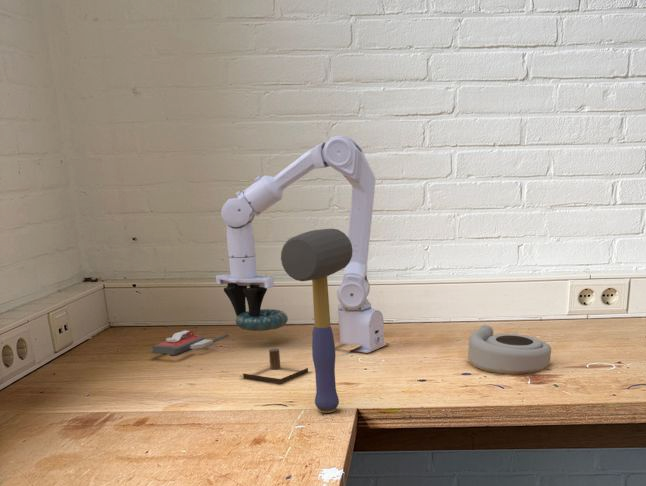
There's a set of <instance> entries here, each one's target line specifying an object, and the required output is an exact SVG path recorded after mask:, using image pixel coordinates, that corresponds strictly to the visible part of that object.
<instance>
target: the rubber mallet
mask: <svg viewBox="0 0 646 486" xmlns="http://www.w3.org/2000/svg"><path fill="white" fill-rule="evenodd" d="M352 251H353V250H352V244H351V242H350V240H349V238H348V235H347V234H346V233H344V232H343V231H342V230H340V229H337V228H321V229H314V230H308V231H306V232H302V233H300V234H297V235H294V236H293V237H290V238H289V239H288V240H286V242H285V243H284V244H283V246H282V249H281V252H280V261H281V266H282V267H283V270H284V271H285V273H286V274H287V275H288V276H289V278H292V279H293V280H295V281H299V282H307V281H309V282H310V281H311V283H312V301H313V302H312V303H313V321H314V322H313V323H314V326H313V328H312V334H311V335H312V339H311V352H312V353H311V354H312V361H313V366H314V372H315V373H314V374H315V388H316V389H315V390H316V391H315V398H314V405H315V407H316V408H317V409H318V411H319V412H320V413H323V414H330V413H334V412H336V411H337V408H338V406H339V403H340V401H339V396H338V395H339V394H338V392H337V386H336V385H337V384H336V372H335V371H336V369H335V368H336V346H335V345H336V344H335V338H334V332H333V329H332V325H331V314H330V313H331V312H330V299H329V298H330V297H329V285H328V277H329V276H331V275H334V274H336V273H337V272H339V271H341V270H343V269H345V267H346V266H347V265H348V264H349V263H350V260H351V258H352Z"/></svg>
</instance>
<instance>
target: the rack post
mask: <svg viewBox="0 0 646 486" xmlns="http://www.w3.org/2000/svg"><path fill="white" fill-rule="evenodd" d="M280 354H281V353H280V349H279V348H271V349H268V355H269V356H268V357H269V368H270V369H269V370H271V371H278V370H281V367H282V366H281V365H282V364H281V355H280ZM308 373H309V367H306V368H304V369H301V370H299V371H297V372H294V373H292V374H289V375H287V376H284V377H282V378H276V377H269V376H264V375H263V376H262V375H256V374H249V373H242V377H243V378H242V379H243V380H248V381H249V380H250V381H256V382H262V383H270V384H276V385H282V384H284V383H287V382H290V381H291V380H294V379H297V378H299V377H301V376H304V375H306V374H308Z"/></svg>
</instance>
